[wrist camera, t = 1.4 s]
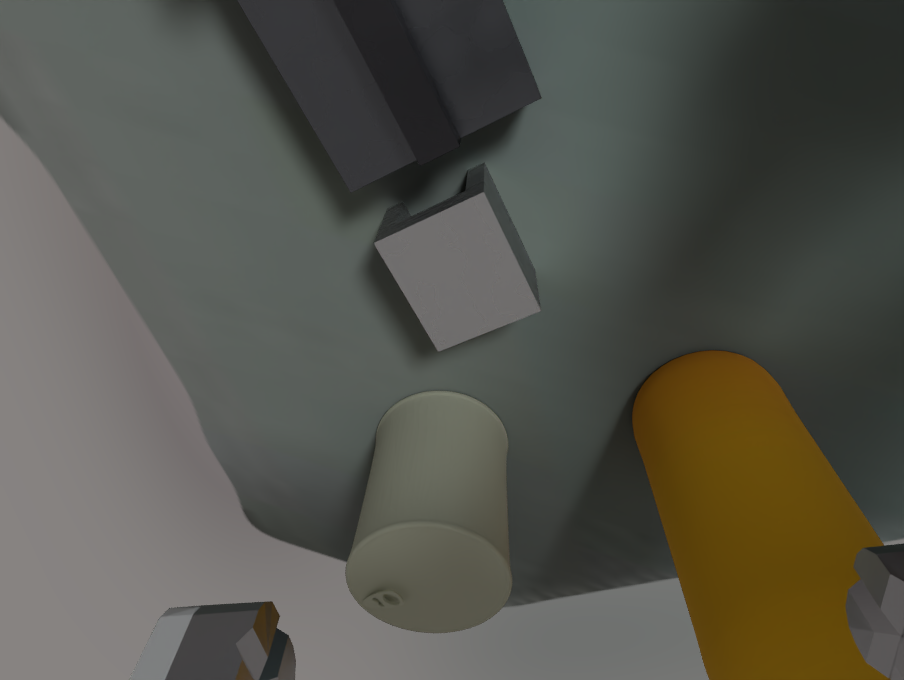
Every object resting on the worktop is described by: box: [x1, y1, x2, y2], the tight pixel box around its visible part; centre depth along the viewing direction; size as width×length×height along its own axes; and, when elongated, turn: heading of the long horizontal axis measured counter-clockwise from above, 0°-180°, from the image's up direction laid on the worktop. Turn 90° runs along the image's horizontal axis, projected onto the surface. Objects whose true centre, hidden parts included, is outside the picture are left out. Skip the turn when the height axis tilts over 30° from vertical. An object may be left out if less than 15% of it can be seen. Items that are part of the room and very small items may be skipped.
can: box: [346, 391, 512, 633], centre depth 39 cm, size 9×9×12 cm
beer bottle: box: [632, 350, 888, 680], centre depth 29 cm, size 9×9×29 cm
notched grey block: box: [374, 162, 541, 352], centre depth 34 cm, size 7×6×5 cm
